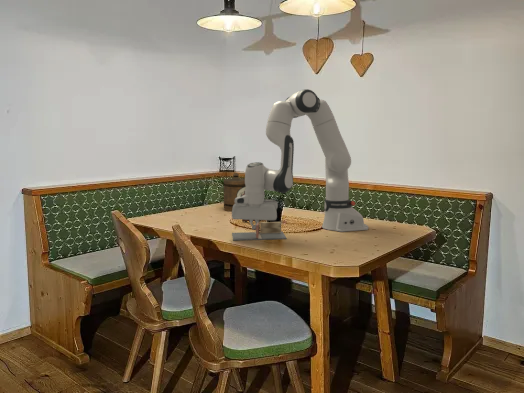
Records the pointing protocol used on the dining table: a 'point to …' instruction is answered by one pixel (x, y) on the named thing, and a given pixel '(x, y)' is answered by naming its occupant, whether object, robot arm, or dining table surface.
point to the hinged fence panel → (257, 230)
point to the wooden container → (233, 190)
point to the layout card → (261, 237)
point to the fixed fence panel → (269, 227)
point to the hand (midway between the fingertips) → (254, 229)
